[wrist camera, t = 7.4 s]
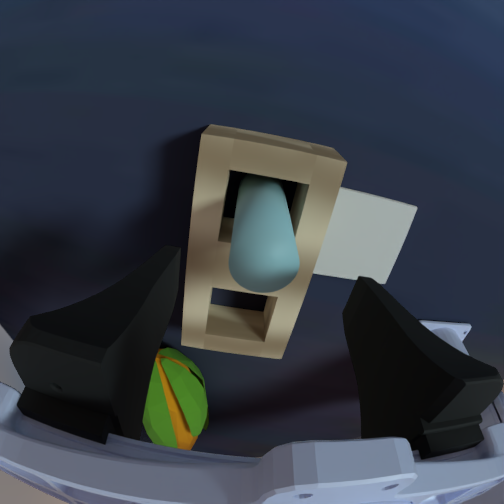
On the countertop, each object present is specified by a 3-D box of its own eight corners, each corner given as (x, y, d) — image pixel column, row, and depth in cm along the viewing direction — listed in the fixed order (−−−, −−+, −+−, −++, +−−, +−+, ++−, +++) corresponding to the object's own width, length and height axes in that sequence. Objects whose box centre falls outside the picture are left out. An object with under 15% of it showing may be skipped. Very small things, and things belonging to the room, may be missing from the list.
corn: (192, 401, 22) (210, 480, 32) (210, 331, 28) (218, 431, 38) (103, 384, 22) (153, 470, 32) (133, 321, 28) (165, 423, 39)
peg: (292, 186, 21) (314, 257, 13) (265, 218, 22) (271, 302, 15) (255, 160, 20) (255, 219, 13) (229, 195, 22) (215, 271, 14)
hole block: (279, 329, 28) (281, 359, 25) (188, 315, 27) (181, 345, 24) (333, 148, 20) (347, 162, 17) (210, 124, 19) (201, 134, 16)
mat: (383, 281, 25) (384, 284, 25) (304, 269, 25) (305, 271, 24) (415, 206, 22) (417, 207, 21) (330, 184, 21) (331, 186, 21)
